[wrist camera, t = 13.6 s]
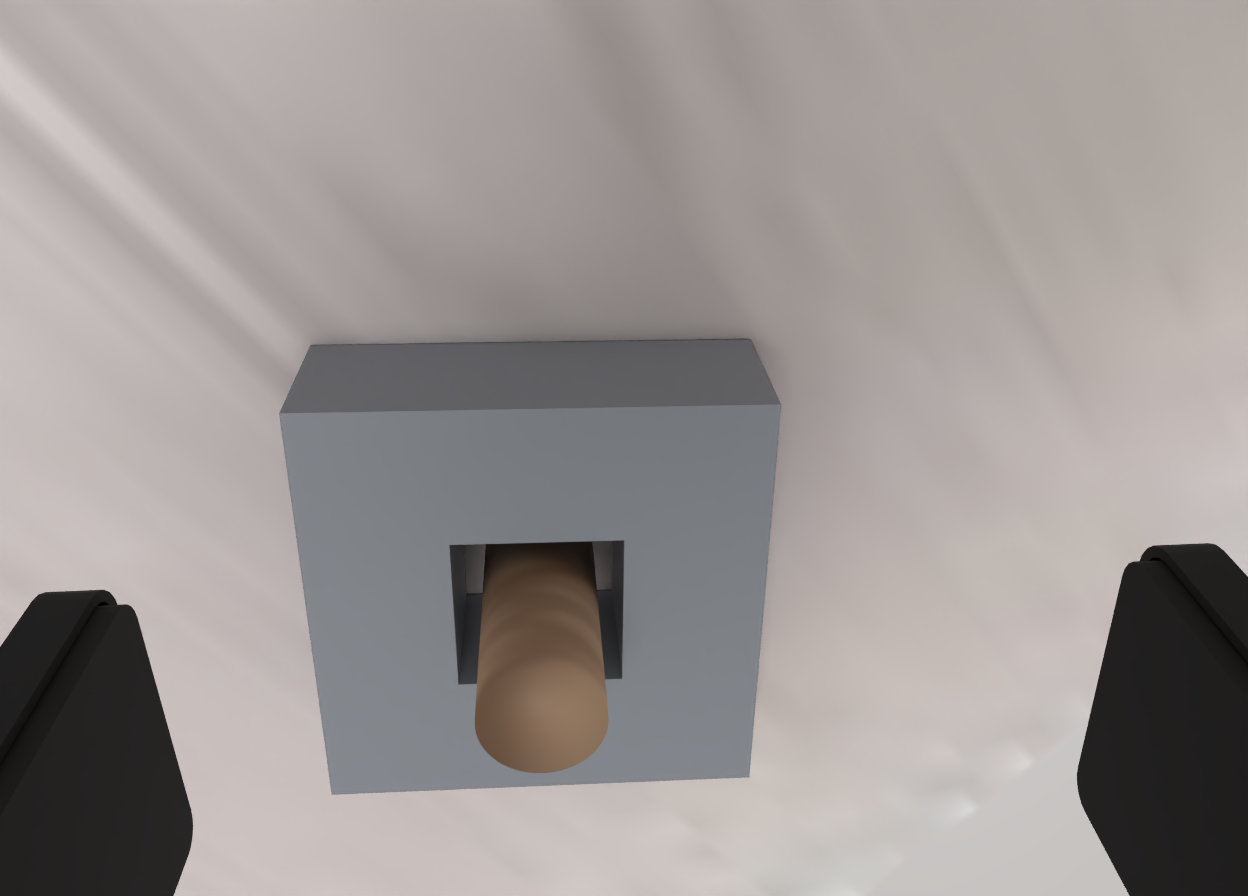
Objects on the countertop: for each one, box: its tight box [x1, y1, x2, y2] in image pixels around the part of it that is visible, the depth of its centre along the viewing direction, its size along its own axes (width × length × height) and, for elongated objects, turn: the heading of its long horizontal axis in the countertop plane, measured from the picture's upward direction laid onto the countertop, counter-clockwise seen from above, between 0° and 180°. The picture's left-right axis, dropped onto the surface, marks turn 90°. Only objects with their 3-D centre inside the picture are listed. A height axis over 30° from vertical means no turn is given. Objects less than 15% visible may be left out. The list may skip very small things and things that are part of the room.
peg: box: [475, 541, 609, 773], centre depth 35 cm, size 4×4×10 cm
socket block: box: [279, 339, 781, 795], centre depth 37 cm, size 14×14×5 cm
